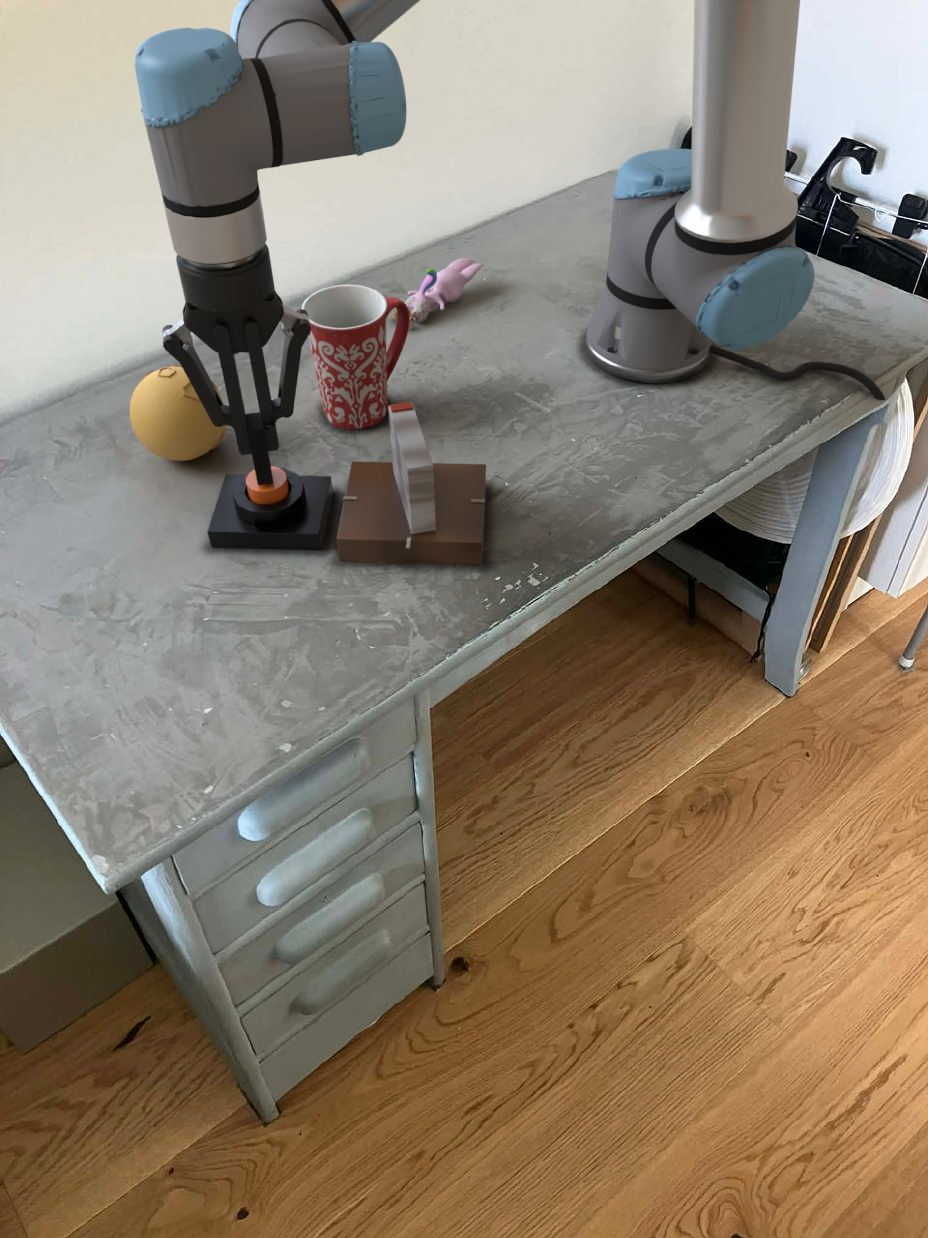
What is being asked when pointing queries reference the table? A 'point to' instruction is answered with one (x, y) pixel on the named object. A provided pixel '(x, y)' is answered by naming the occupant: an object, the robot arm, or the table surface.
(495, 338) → the table surface
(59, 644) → the table surface
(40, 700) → the table surface
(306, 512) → the button housing
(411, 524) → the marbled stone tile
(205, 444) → the stress ball
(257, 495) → the button
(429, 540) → the plate
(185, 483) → the table surface
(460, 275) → the rabbit figure
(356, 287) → the mug
